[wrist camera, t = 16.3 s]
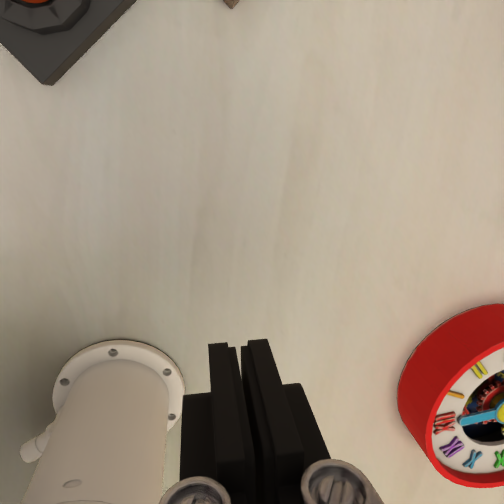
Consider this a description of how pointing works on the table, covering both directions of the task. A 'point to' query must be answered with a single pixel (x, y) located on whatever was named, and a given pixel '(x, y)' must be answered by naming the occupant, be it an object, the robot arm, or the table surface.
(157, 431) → the robot arm
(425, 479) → the table surface
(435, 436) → the toy clock
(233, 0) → the dial panel
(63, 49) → the button box
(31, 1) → the button
